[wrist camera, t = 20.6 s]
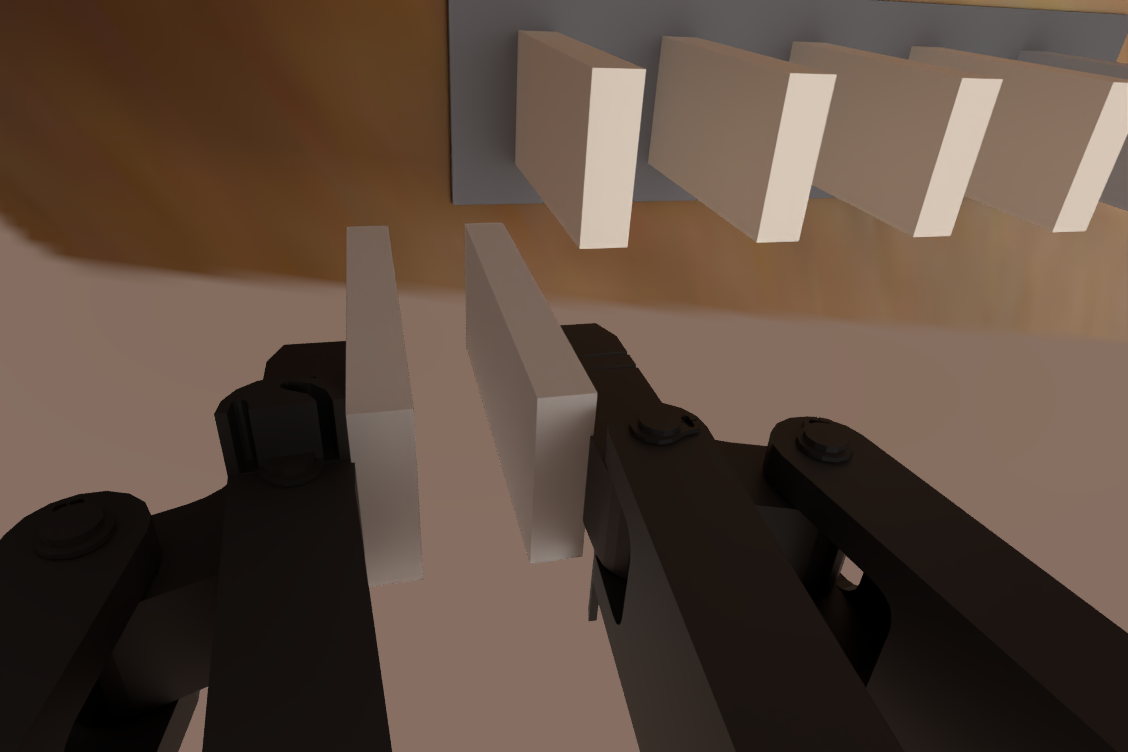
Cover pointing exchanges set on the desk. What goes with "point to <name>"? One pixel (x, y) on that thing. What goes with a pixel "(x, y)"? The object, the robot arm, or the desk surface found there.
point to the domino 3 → (899, 135)
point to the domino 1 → (579, 134)
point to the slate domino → (1124, 181)
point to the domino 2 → (740, 132)
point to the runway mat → (719, 14)
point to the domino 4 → (1043, 138)
